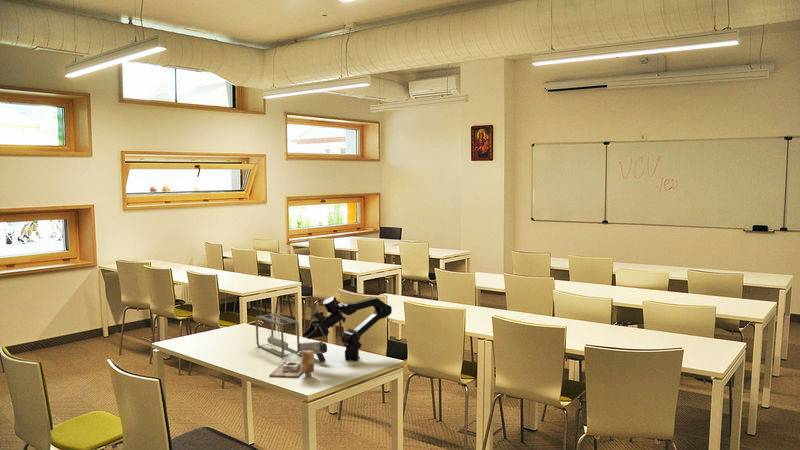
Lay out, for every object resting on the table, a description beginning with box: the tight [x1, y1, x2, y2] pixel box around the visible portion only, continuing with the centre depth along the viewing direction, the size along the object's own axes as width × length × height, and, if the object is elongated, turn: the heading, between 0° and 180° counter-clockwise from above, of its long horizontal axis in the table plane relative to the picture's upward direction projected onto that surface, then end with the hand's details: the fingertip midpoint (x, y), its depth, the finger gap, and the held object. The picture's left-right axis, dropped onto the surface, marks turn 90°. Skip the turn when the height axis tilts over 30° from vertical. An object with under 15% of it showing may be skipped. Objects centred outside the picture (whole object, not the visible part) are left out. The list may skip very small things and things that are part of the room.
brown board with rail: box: [268, 361, 304, 379], centre depth 295 cm, size 14×22×3 cm, turn 172°
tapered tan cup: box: [301, 350, 315, 378], centre depth 285 cm, size 6×6×12 cm
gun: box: [298, 341, 328, 363], centre depth 316 cm, size 2×25×10 cm, turn 43°
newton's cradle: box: [255, 312, 301, 358], centre depth 330 cm, size 30×10×18 cm, turn 40°
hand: (305, 336), depth 299 cm, fingers open, 9 cm apart
